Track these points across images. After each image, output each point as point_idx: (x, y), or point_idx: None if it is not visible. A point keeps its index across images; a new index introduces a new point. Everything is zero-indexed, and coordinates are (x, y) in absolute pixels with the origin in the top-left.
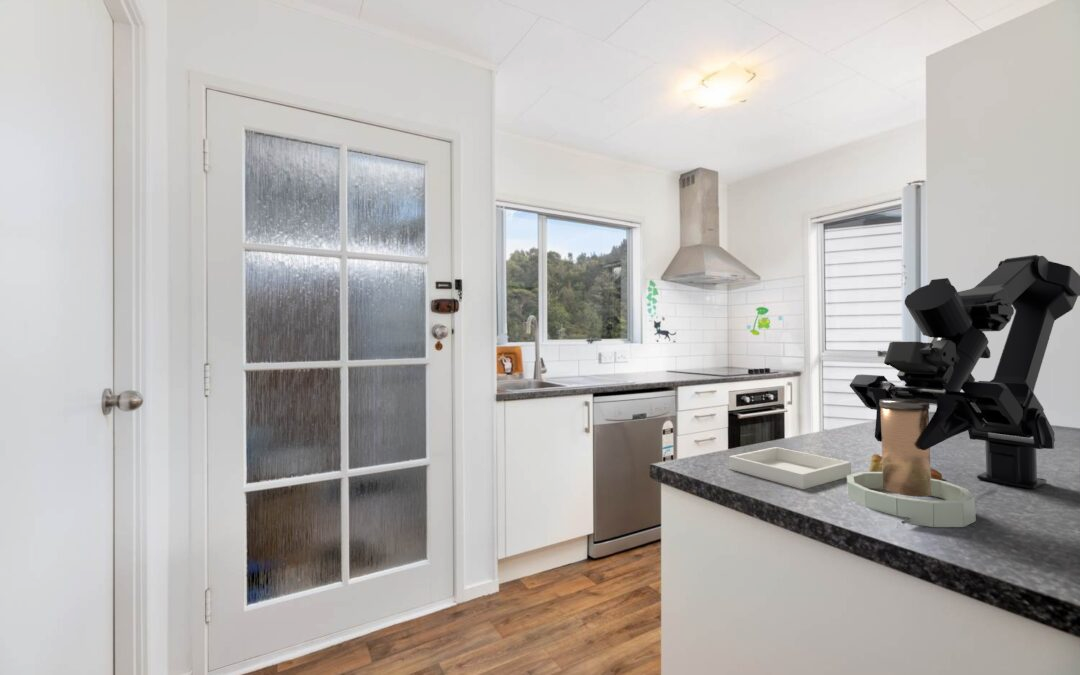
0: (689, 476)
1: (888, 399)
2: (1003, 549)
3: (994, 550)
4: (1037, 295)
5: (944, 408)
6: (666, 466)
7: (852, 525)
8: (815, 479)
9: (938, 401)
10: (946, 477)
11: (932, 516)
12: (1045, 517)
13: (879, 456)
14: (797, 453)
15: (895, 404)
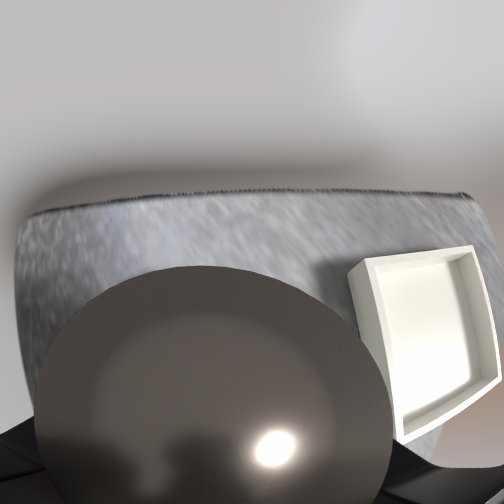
0: (442, 197)
1: (349, 444)
2: (59, 309)
3: (64, 295)
4: None
5: (5, 450)
6: (476, 208)
7: (207, 213)
8: (367, 310)
9: (2, 470)
10: None
11: None
12: None
13: None
14: (473, 394)
15: (175, 275)
